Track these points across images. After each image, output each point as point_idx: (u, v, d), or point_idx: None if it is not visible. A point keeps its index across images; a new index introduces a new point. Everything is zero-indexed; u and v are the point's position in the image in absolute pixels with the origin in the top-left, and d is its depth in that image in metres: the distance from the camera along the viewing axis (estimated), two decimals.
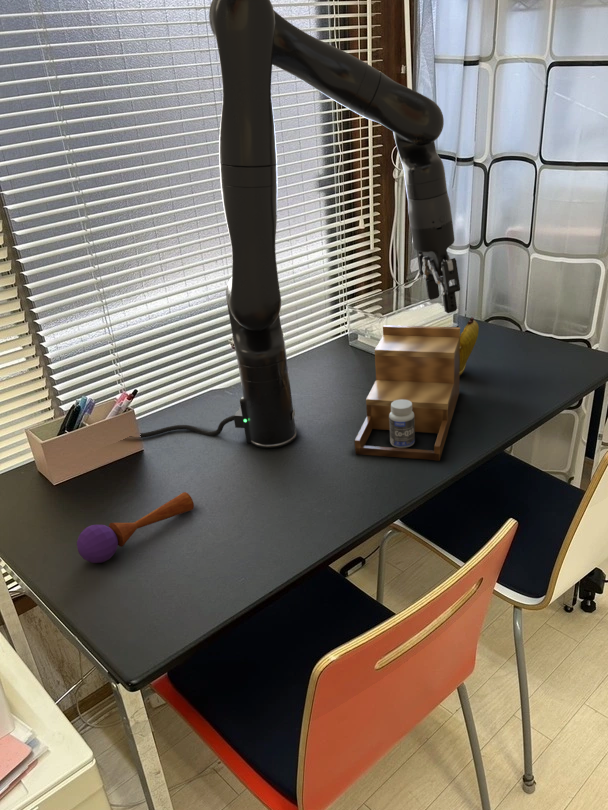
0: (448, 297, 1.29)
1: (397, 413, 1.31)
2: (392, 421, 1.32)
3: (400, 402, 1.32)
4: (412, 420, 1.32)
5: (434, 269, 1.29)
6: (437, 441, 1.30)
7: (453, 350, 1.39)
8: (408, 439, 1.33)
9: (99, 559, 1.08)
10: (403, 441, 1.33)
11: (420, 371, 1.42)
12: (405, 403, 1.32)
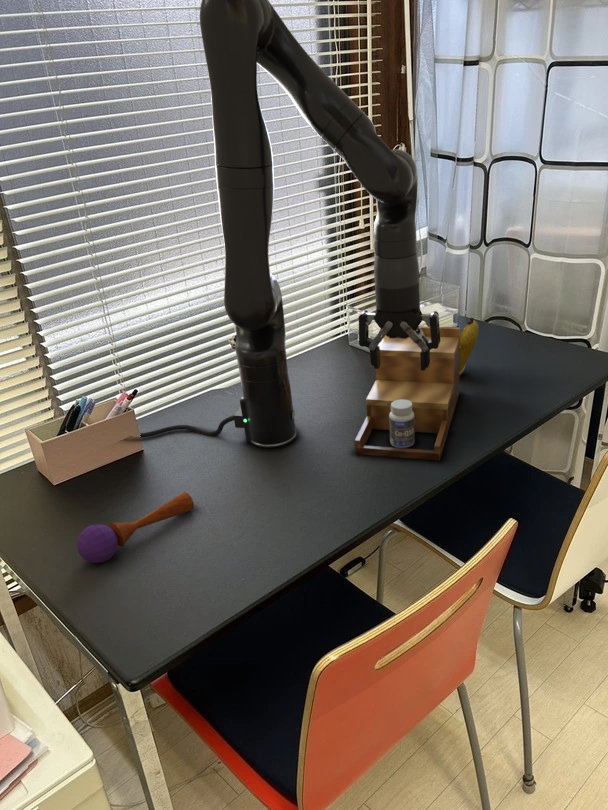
0: (428, 353, 1.24)
1: (397, 413, 1.31)
2: (392, 421, 1.32)
3: (400, 402, 1.32)
4: (412, 420, 1.32)
5: (411, 328, 1.22)
6: (437, 441, 1.30)
7: (453, 350, 1.39)
8: (408, 439, 1.33)
9: (99, 559, 1.08)
10: (403, 441, 1.33)
11: (420, 371, 1.42)
12: (405, 403, 1.32)
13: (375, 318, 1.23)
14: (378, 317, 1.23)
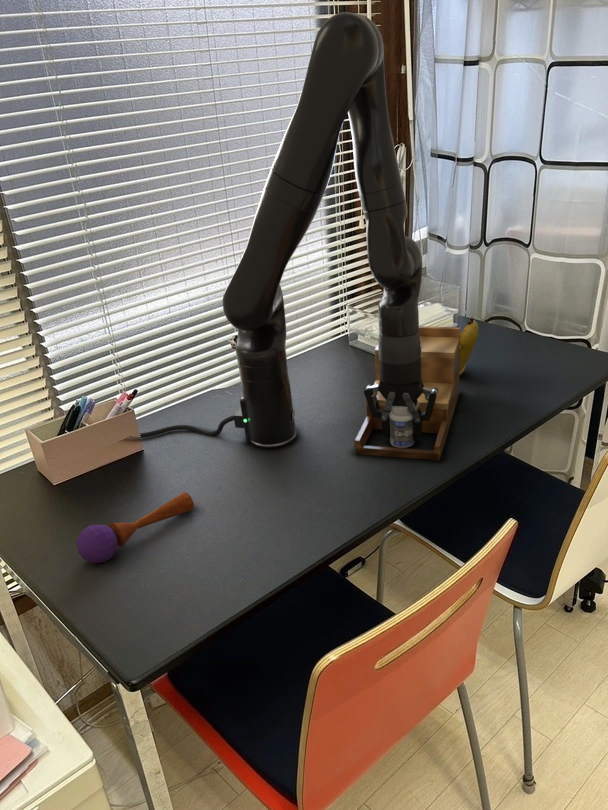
0: (420, 424, 1.32)
1: (397, 413, 1.31)
2: (392, 421, 1.32)
3: None
4: (412, 420, 1.32)
5: (411, 400, 1.29)
6: (437, 441, 1.30)
7: (453, 350, 1.39)
8: (408, 439, 1.33)
9: (99, 559, 1.08)
10: (402, 441, 1.33)
11: None
12: None
13: (379, 388, 1.30)
14: (382, 387, 1.30)
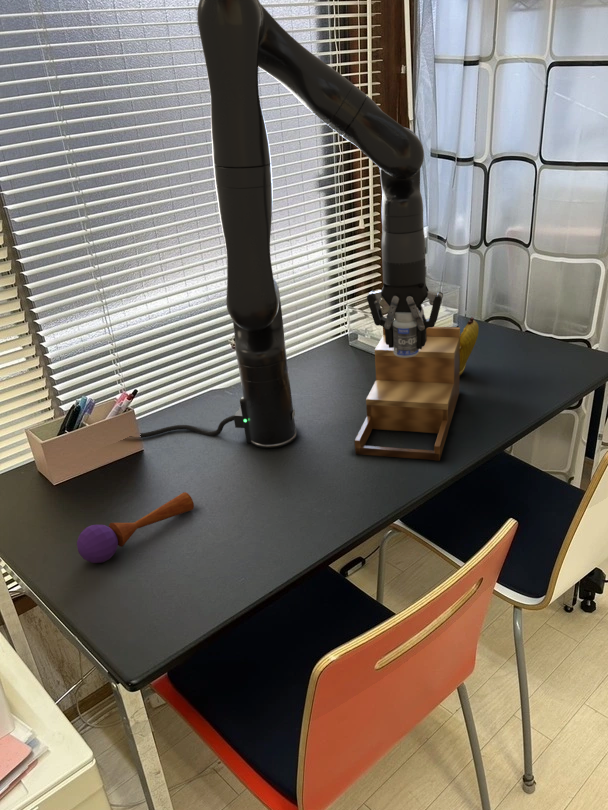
0: (425, 332, 1.29)
1: (401, 319, 1.27)
2: (396, 329, 1.28)
3: None
4: (416, 327, 1.28)
5: (415, 305, 1.25)
6: (437, 441, 1.30)
7: (453, 350, 1.39)
8: (412, 348, 1.30)
9: (99, 559, 1.08)
10: (406, 350, 1.30)
11: (420, 371, 1.42)
12: None
13: (382, 293, 1.26)
14: (385, 292, 1.26)
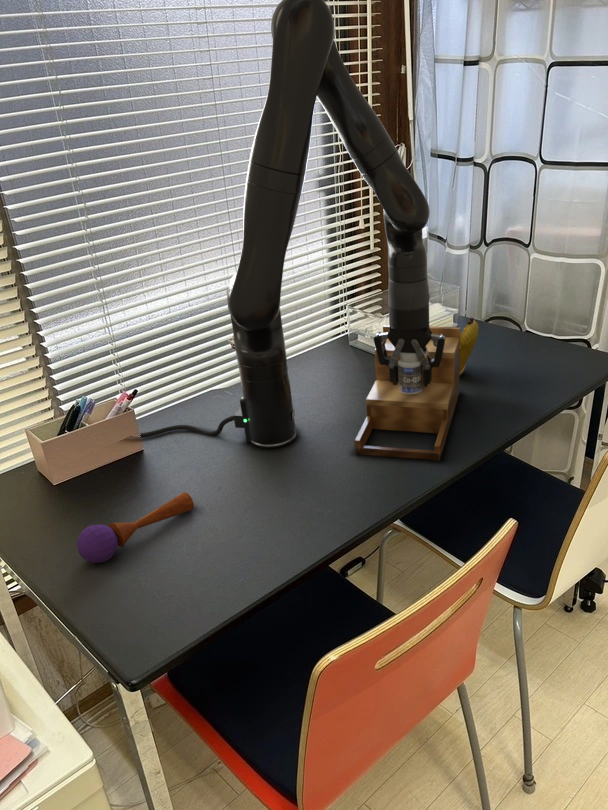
0: (430, 371, 1.36)
1: (406, 359, 1.35)
2: (401, 368, 1.36)
3: None
4: (420, 367, 1.36)
5: (420, 347, 1.33)
6: (437, 441, 1.30)
7: (453, 350, 1.39)
8: (416, 386, 1.38)
9: (99, 559, 1.08)
10: (411, 388, 1.37)
11: None
12: None
13: (388, 336, 1.34)
14: (391, 335, 1.34)
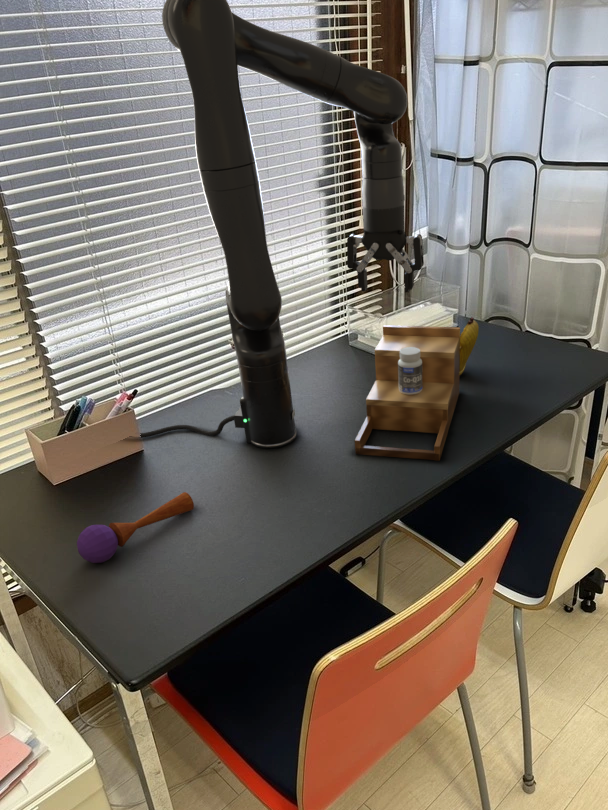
0: (412, 275, 1.32)
1: (406, 359, 1.35)
2: (401, 368, 1.36)
3: (408, 349, 1.36)
4: (420, 367, 1.36)
5: (396, 250, 1.29)
6: (437, 441, 1.30)
7: (453, 350, 1.39)
8: (416, 386, 1.38)
9: (99, 559, 1.08)
10: (411, 387, 1.37)
11: None
12: (413, 350, 1.36)
13: (362, 240, 1.31)
14: (365, 239, 1.30)
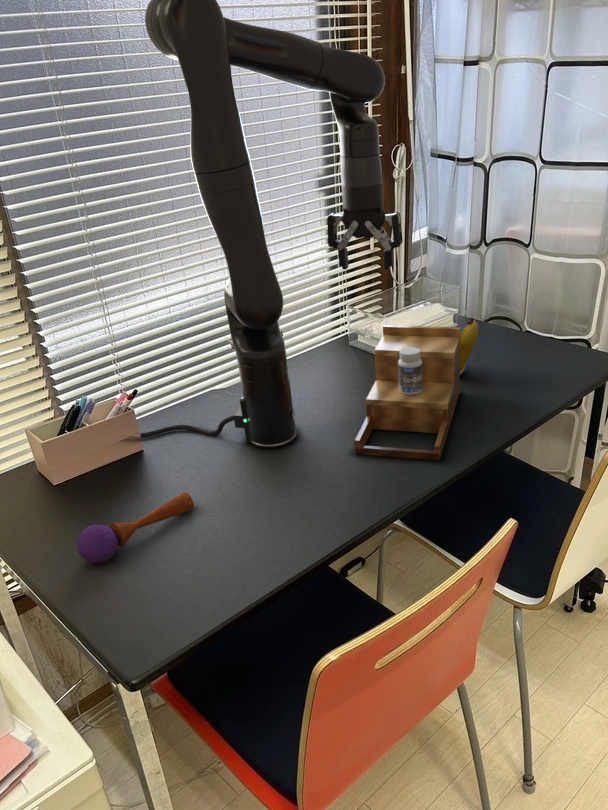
0: (391, 252, 1.35)
1: (406, 359, 1.35)
2: (401, 368, 1.36)
3: (408, 349, 1.36)
4: (420, 367, 1.36)
5: (375, 228, 1.33)
6: (437, 441, 1.30)
7: (453, 350, 1.39)
8: (416, 386, 1.38)
9: (99, 559, 1.08)
10: (411, 387, 1.37)
11: None
12: (413, 350, 1.36)
13: (342, 219, 1.34)
14: (345, 217, 1.33)
